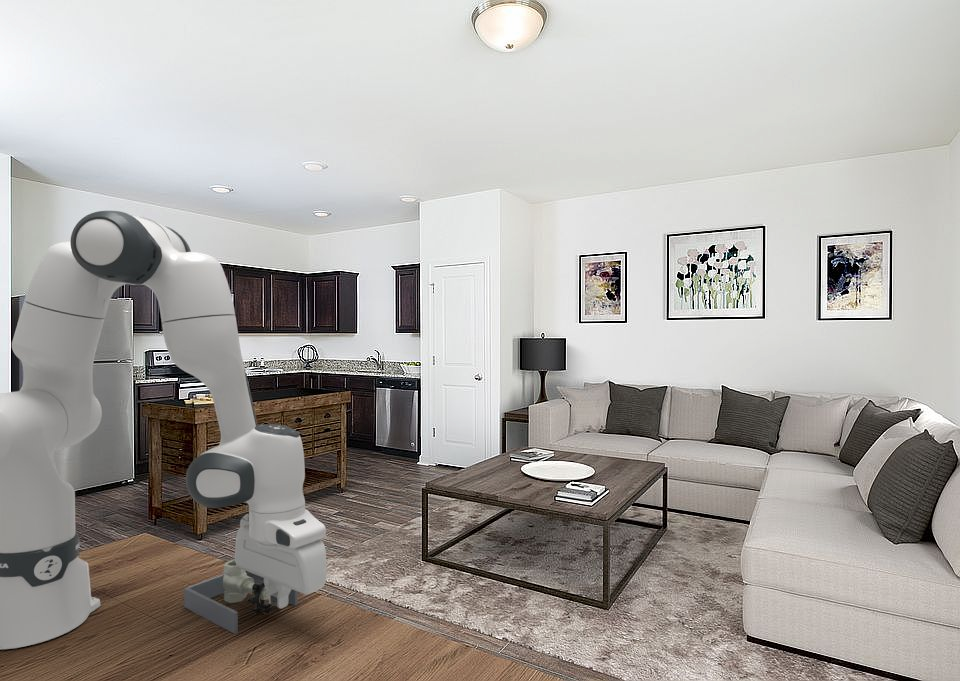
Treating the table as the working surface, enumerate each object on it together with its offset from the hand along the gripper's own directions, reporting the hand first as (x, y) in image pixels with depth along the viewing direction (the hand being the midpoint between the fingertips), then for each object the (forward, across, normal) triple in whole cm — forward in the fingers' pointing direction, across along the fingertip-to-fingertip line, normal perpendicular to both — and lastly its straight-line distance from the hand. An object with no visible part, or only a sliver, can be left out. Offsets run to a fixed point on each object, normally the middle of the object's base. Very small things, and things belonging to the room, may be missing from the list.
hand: (278, 605), depth 97 cm
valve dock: (+3, -10, 0) cm, 10 cm away
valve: (+3, -10, +1) cm, 10 cm away
